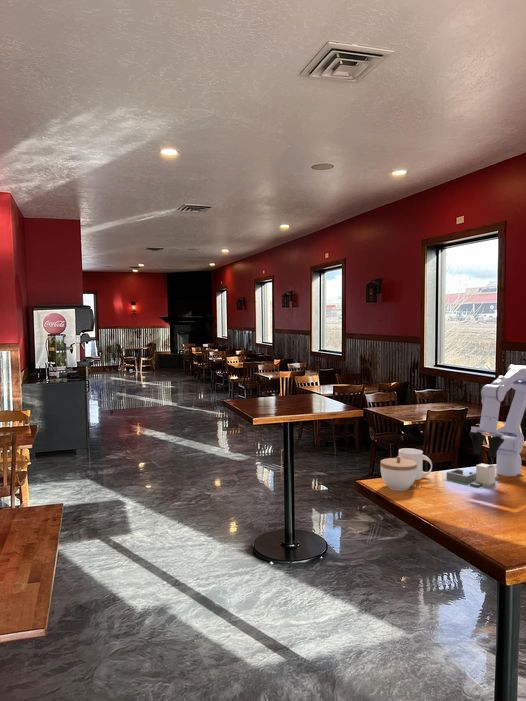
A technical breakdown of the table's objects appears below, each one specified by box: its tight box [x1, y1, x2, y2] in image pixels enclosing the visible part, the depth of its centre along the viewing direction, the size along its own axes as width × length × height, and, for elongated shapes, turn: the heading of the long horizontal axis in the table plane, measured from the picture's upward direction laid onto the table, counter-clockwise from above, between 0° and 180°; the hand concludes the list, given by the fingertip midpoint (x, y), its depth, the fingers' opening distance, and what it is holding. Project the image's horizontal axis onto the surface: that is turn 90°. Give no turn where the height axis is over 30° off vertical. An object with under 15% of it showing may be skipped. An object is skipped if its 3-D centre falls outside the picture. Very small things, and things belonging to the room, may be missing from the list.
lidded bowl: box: [379, 455, 417, 492], centre depth 195 cm, size 13×13×11 cm
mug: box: [398, 447, 433, 481], centre depth 205 cm, size 9×12×11 cm
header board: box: [442, 468, 500, 490], centre depth 201 cm, size 13×15×4 cm
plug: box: [475, 463, 497, 486], centre depth 200 cm, size 8×5×6 cm, turn 130°
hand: (484, 455), depth 197 cm, fingers open, 7 cm apart
